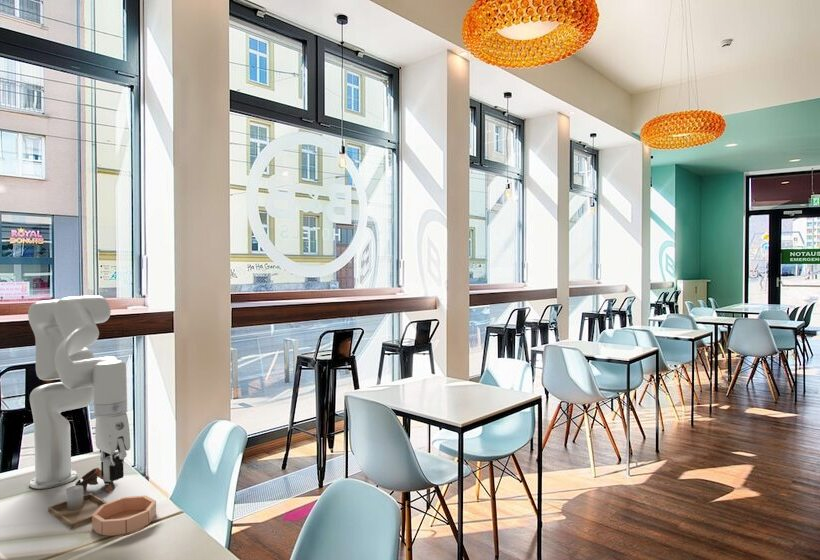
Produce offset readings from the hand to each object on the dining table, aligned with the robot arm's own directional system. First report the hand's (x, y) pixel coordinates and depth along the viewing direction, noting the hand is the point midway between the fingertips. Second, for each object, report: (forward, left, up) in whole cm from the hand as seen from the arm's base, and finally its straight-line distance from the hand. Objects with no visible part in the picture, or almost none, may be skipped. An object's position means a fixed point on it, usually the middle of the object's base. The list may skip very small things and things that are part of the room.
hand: (112, 476), depth 133 cm
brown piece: (-28, +8, -14) cm, 32 cm away
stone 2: (0, 0, -1) cm, 1 cm away
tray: (-16, -1, -14) cm, 21 cm away
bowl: (0, +3, -14) cm, 14 cm away
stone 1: (-20, -1, -13) cm, 24 cm away
